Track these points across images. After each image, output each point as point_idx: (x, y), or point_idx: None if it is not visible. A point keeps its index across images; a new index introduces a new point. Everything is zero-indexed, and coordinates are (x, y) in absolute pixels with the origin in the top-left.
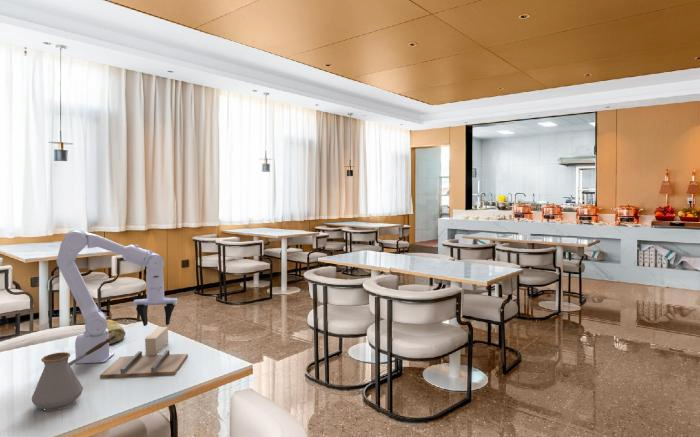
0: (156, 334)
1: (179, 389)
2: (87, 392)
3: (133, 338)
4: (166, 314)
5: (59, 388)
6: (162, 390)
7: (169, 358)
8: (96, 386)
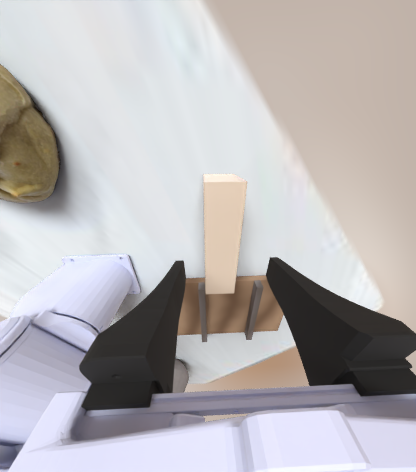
0: (226, 266)
1: (283, 349)
2: (182, 351)
3: (80, 107)
4: (295, 329)
5: None
6: (265, 350)
7: (263, 295)
8: (184, 343)
